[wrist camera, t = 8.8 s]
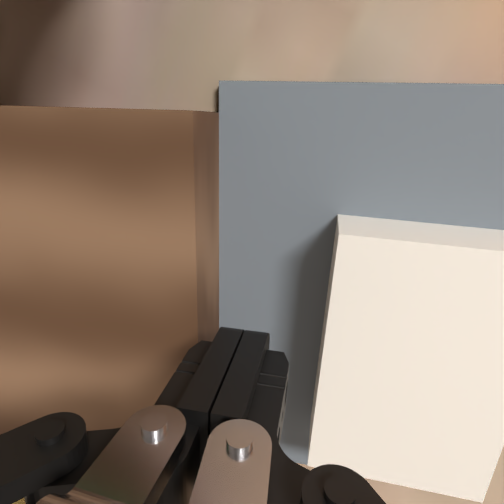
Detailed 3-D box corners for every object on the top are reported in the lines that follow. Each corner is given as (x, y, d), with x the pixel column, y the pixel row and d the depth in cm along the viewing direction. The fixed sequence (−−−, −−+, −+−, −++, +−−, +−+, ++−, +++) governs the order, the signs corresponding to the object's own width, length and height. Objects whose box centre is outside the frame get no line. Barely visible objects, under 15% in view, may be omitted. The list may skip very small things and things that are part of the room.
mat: (222, 81, 13) (219, 80, 12) (586, 86, 11) (596, 85, 11) (221, 441, 18) (219, 447, 18) (465, 487, 16) (468, 495, 16)
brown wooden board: (-139, 102, 16) (-238, 98, 13) (222, 112, 13) (192, 110, 10) (-58, 374, 21) (-118, 413, 18) (221, 425, 18) (201, 480, 15)
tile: (572, 258, 10) (526, 232, 12) (338, 234, 11) (337, 214, 13) (482, 502, 13) (459, 444, 15) (307, 465, 14) (310, 416, 16)
